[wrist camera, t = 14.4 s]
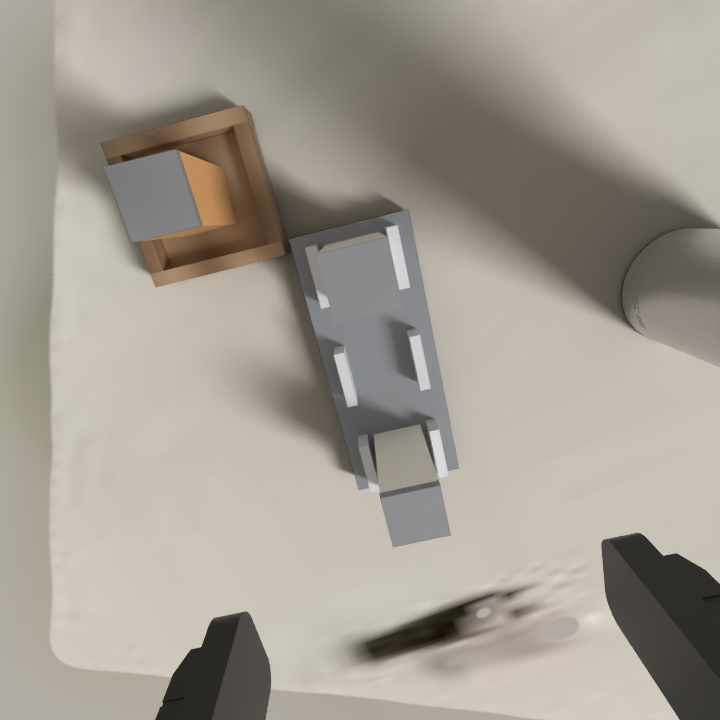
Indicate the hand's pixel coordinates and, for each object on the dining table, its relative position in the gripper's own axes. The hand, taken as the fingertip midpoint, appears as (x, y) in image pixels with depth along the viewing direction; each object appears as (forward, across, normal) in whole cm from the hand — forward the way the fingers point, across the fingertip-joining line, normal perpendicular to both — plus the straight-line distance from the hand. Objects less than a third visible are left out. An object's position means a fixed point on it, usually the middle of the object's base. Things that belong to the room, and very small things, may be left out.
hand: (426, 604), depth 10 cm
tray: (+28, +10, -12) cm, 32 cm away
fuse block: (+28, 0, +3) cm, 28 cm away
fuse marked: (+27, +10, -12) cm, 31 cm away
